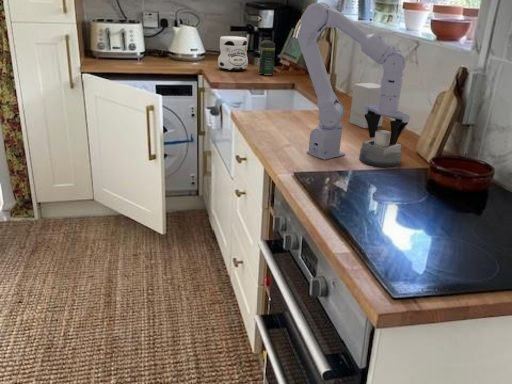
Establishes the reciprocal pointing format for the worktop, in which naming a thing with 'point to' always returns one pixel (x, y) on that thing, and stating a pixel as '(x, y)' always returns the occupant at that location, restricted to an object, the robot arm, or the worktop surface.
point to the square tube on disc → (380, 155)
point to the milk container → (233, 53)
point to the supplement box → (364, 102)
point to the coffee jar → (267, 57)
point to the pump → (382, 138)
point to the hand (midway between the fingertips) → (382, 140)
